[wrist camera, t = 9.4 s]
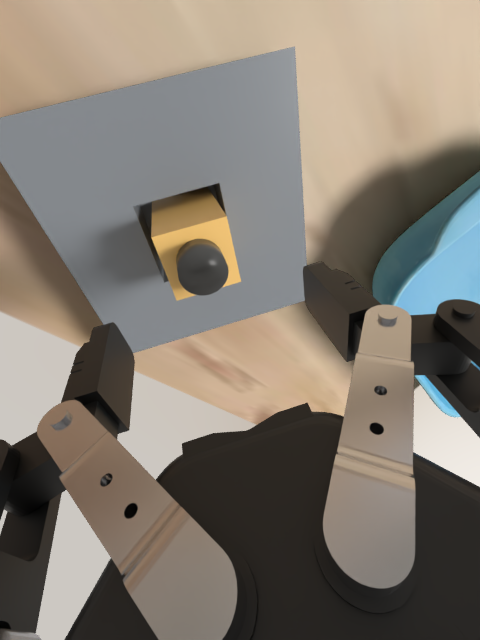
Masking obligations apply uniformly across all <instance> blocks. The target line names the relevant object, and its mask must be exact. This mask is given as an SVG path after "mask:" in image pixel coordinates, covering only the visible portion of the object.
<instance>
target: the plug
mask: <svg viewBox="0 0 480 640" xmlns="http://www.w3.org/2000/svg"><path fill="white" fill-rule="evenodd" d="M151 238H152V240H153V243H154V245H155V248H156V250H157V253H158V255H159V258H160V260H161V263H162V265H163V268H164V270H165V273H166V275H167V278H168V280H169V283H170V285H171V288H172V290H173V293H174V295H175V298H176V300H177V301H178V300H181V299H185V298H188V297H191V296H195V295H200V296H204V295H210V294H213V293H215V292H217V291H218V290H219V289H221V288H222V287H225V286H229V285H232V284H235V283H239V282H241V278H240V274H239V269H238V265H237V260H236V256H235V251H234V247H233V242H232V237H231V233H230V228H229V224H228V219H227V216H226V214H225V213H224V211H223V210H222V208H221V207H220V205H219V204H218V202H217V201H216V199H215V198H214V196H213V195H212V193H211V192H210V190H209V188H208V187H204V188H200V189H197V190H193V191H189V192H186V193H182V194H178V195H174V196H171V197H167V198H163V199H160V200H156V201H152V227H151Z"/></svg>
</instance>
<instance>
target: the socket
mask: <svg viewBox="0 0 480 640" xmlns="http://www.w3.org/2000/svg"><path fill="white" fill-rule="evenodd" d="M0 162H1V163H2V165H3V167H4V168H5V170H6V171H7V173H8V175H9V176H10V178H11V179H12V181H13V182H14V184H15V186H16V187H17V189H18V190H19V192H20V193H21V195H22V197H23V198H24V200H25V201H26V203H27V205H28V206H29V208H30V209H31V211H32V212H33V214H34V216H35V217H36V219H37V220H38V222H39V223H40V225H41V227H42V228H43V230H44V231H45V233H46V234H47V236H48V238H49V239H50V241H51V242H52V244H53V246H54V247H55V249H56V250H57V252H58V253H59V255H60V257H61V258H62V260H63V261H64V263H65V264H66V266H67V268H68V269H69V271H70V272H71V274H72V276H73V277H74V279H75V280H76V282H77V283H78V285H79V287H80V288H81V290H82V291H83V293H84V294H85V296H86V298H87V299H88V301H89V302H90V304H91V306H92V307H93V309H94V310H95V312H96V313H97V315H98V317H99V318H100V320H101V321H102V323H103V324H104V325H105V324H108V323H111V322H114V323H115V324H116V325H117V327H118V328H119V330H120V332H121V333H122V335H123V337H124V338H125V340H126V341H127V343H128V345H129V346H130V348H131V350H132V352H133V353H135V352H139V351H142V350H145V349H148V348H152V347H155V346H158V345H161V344H165V343H168V342H171V341H175V340H178V339H181V338H184V337H188V336H191V335H194V334H197V333H201V332H204V331H207V330H211V329H214V328H217V327H220V326H224V325H227V324H230V323H233V322H237V321H240V320H243V319H247V318H250V317H253V316H256V315H260V314H263V313H266V312H270V311H273V310H276V309H279V308H283V307H286V306H289V305H292V304H296V303H299V302H302V301H305V297H304V283H303V267H304V266H307V260H306V241H305V223H304V205H303V186H302V168H301V150H300V131H299V113H298V94H297V76H296V58H295V47H291V48H287V49H282V50H278V51H274V52H270V53H266V54H262V55H258V56H254V57H249V58H245V59H241V60H237V61H233V62H229V63H225V64H220V65H216V66H212V67H208V68H204V69H200V70H196V71H192V72H187V73H183V74H179V75H175V76H171V77H167V78H163V79H158V80H154V81H150V82H146V83H142V84H138V85H134V86H129V87H125V88H121V89H117V90H113V91H109V92H105V93H101V94H96V95H92V96H88V97H84V98H80V99H76V100H72V101H67V102H63V103H59V104H55V105H51V106H47V107H43V108H39V109H34V110H30V111H26V112H22V113H18V114H14V115H10V116H5V117H1V118H0ZM204 187H208V188H209V190H210V192H211V193H212V195H213V196H214V198H215V199H216V201H217V202H218V204H219V205H220V207H221V208H222V210H223V211H224V213H225V214H226V216H227V219H228V224H229V228H230V233H231V237H232V242H233V247H234V251H235V256H236V260H237V265H238V269H239V274H240V278H241V282H239V283H235V284H232V285H229V286H225V287H222V288H221V289H219V290H218V291H217V292H215V293H213V294H210V295H204V296H200V295H195V296H191V297H188V298H185V299H181V300H178V301H177V300H176V298H175V295H174V293H173V290H172V288H171V285H170V283H169V280H168V278H167V275H166V273H165V270H164V268H163V265H162V263H161V260H160V258H159V255H158V253H157V250H156V248H155V245H154V243H153V240H152V238H151V227H152V201H156V200H160V199H163V198H167V197H171V196H174V195H178V194H182V193H186V192H189V191H193V190H197V189H200V188H204Z"/></svg>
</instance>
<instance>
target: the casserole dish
mask: <svg viewBox="0 0 480 640" xmlns="http://www.w3.org/2000/svg"><path fill="white" fill-rule="evenodd" d="M372 291H373V297H374V298H375V299H376V300H377V301H379V302H380V303H381V304H382V305H393V306H397V307H400V308H402V309H404V310H405V311H407V312H408V313H409V314H410V315H423V314H436V310H437V307H438V305H439V304H440V303H442V302H444V301H447V300H452V299H462V300H468V301H472V302H475V303H478V304H480V171H479V172H477V173H476V174H475V175H474V176H472V177H471V178H470V179H469V180H467V181H466V182H465V183H464V184H462V185H461V186H460V187H458V188H457V189H456V190H455V191H453V192H452V193H451V194H450V195H448V196H447V197H446V198H445V199H443V200H442V201H441V202H440V203H438V204H437V205H436V206H435V207H433V208H432V209H431V210H430V211H428V212H427V213H426V214H425V215H424V216H422V217H421V218H420V219H419V220H418V221H416V222H415V223H414V224H413V225H412V226H410V227H409V228H408V229H407V230H406V231H405V232H404V233H403V234H402V235H401V236H400V237H399V238H398V239H397V240H396V241H395V242H394V243H393V244H392V245H391V246H390V247H389V248H388V249H387V250H386V252H385V253H384V254H383V256H382V257H381V259H380V261H379V263H378V265H377V268H376V270H375V273H374V277H373V283H372ZM471 363H472V364H473V365H474V366H475V367H477V368H478V369H479V370H480V368H479V367H478V366H477V365H476V364H475V363H474V362H473V361H471ZM414 377H415V378H416V379H417V380H418V382H419V383H420V385H421V386H422V387H423V389H424V390H425V391H426V393H427V394H428V395H429V397H430V398H431V399H432V401H433V402H434V403H435V404H436V406H437V407H438V408H439V409H440V410H441V411H442V412H444V413H445V414H447V415H449V416H451V417H461V416H460V415H459V414H458V412H457V411H456V410H455V409H454V408H453V407H452V406H451V405H450V403H449V402H448V401H447V400H446V399H445V398H444V397H443V395H442V394H441V393H440V392H439V391H438V390H437V389H436V387H435V386H434V385H433V384H432V383H431V382H430V381H429V380H428V378H427V377H426V376H425V375H415V376H414Z"/></svg>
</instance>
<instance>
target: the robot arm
mask: <svg viewBox="0 0 480 640" xmlns="http://www.w3.org/2000/svg"><path fill="white" fill-rule="evenodd" d="M303 283H304V297H305V302H306V305H307V308H308V310H309V311H310V313H311V314H312V315H313V317H314V318H315V319H316V321H317V322H318V324H319V325H320V326H321V328H322V329H323V330H324V332H325V333H326V335H327V336H328V337H329V339H330V340H331V341H332V343H333V344H334V345H335V347H336V348H337V350H338V351H339V352H340V354H341V355H342V356H343V358H344V359H345V361H346V362H349V361H352V360H355V362H354V368H353V373H352V378H351V383H350V388H349V393H348V399H347V404H346V409H345V414H344V417H343V416H341V415H337V414H333V413H327V412H312V411H311V409H310V407H309V405H308V403H305V404H302V405H299V406H296V407H293V408H290V409H287V410H284V411H281V412H278V413H276V414H274V415H272V416H271V417H269V418H268V419H266V420H264V421H263V422H261V423H259V424H258V425H256V426H255V427H253V428H251V429H250V430H247V431H238V432H224V433H213V434H210V435H207V436H204V437H200V438H197V439H194V440H191V441H188V442H185V443H183V444H182V450H183V454H182V455H181V456H179V457H178V458H176V459H175V460H174V461H173V462H172V463H171V464H169V465H168V466H167V467H166V468H165V469H164V471H163V472H162V473H161V474H160V475H159V476H158V478H157V479H156V480H155V479H154V478H153V477H152V476H151V475H150V474H149V473H148V472H147V471H146V470H145V469H144V468H143V467H142V465H141V464H140V463H139V462H137V460H136V459H135V458H134V457H133V456H132V455H131V454H130V453H129V452H128V451H127V450H126V449H125V448H124V447H123V446H122V445H121V444H120V443H119V442H118V441H117V435H118V434H119V433H122V432H125V431H128V430H129V426H130V413H131V401H132V388H133V376H134V364H135V361H134V356H133V352H132V350H131V348H130V346H129V345H128V343H127V341H126V340H125V338H124V337H123V335H122V333H121V332H120V330H119V328H118V327H117V325H116V324H115V323H114V322H111V323H108V324H105V325H101V326H98V327H94V328H93V330H92V334H91V337H90V341H89V342H87V343H84V344H83V346H82V347H81V348H80V350H79V351H78V352H77V354H76V357H75V360H74V363H73V365H74V366H72V370H71V374H70V376H69V379H68V382H67V385H66V388H65V392H64V395H63V398H62V401H61V403H60V404H58V405H56V406H55V407H53V408H52V409H51V410H50V411H48V412H47V413H46V414H45V416H44V417H43V418H42V420H41V421H40V423H39V425H38V428H37V432H36V433H33V434H32V435H30V436H28V437H26V438H25V439H23V440H21V441H19V442H18V443H16V444H14V445H12V446H11V445H10V444H8V443H7V442H6V441H4V440H0V519H1V516H2V513H3V510H4V509H5V510H6V511H8V512H7V515H6V519H5V522H4V525H3V528H2V531H1V535H0V640H41V639H40V637H39V636H38V635H36V634H35V633H36V628H37V622H38V617H39V611H40V606H41V601H42V595H43V590H44V585H45V579H46V574H47V568H48V563H49V558H50V552H51V547H52V541H53V536H54V531H55V525H56V520H57V515H58V509H59V504H60V498H61V493H62V492H63V491H65V490H67V491H68V492H69V494H70V495H71V497H72V498H73V500H74V502H75V503H76V505H77V506H78V508H79V509H80V511H81V512H82V514H83V515H84V517H85V518H86V520H87V522H88V523H89V525H90V526H91V528H92V529H93V531H94V532H95V534H96V535H97V537H98V538H99V540H100V541H101V543H102V544H103V546H104V548H105V549H106V550H107V552H108V554H109V555H110V557H111V559H110V561H109V562H108V564H107V566H106V568H105V569H104V571H103V573H102V575H101V576H100V578H99V580H98V582H97V584H96V585H95V587H94V589H93V591H92V592H91V594H90V596H89V598H88V599H87V601H86V603H85V605H84V607H83V608H82V610H81V612H80V614H79V615H78V617H77V619H76V620H75V622H74V624H73V626H72V628H71V630H70V631H69V633H68V635H67V636H66V638H65V640H480V487H479V486H476V485H475V484H473V483H471V482H469V481H467V480H465V479H463V478H461V477H459V476H458V475H456V474H454V473H452V472H450V471H448V470H446V469H444V468H442V467H440V466H438V465H436V464H435V463H433V462H431V461H429V460H427V459H425V458H423V457H421V456H419V455H418V454H416V453H414V452H413V412H414V411H413V410H414V405H413V404H414V376H415V375H425V376H426V377H427V378H428V380H429V381H430V382H431V383H432V384H433V385H434V386H435V387H436V389H437V390H438V391H439V392H440V393H441V394H442V395H443V397H444V398H445V399H446V400H447V401H448V402H449V403H450V405H451V406H452V407H453V408H454V409H455V410H456V411H457V412H458V414H459V415H460V416H461V417H462V418H463V419H464V420H465V422H466V423H467V424H468V425H469V426H470V427H471V428H472V429H473V431H474V432H475V433H476V434H477V435H478V436H479V437H480V370H479V369H478V368H477V367H475V366H474V365H473V364H472V363H471V361H473V362H474V363H475V364H476V365H477V366H478V367H479V368H480V304H478V303H475V302H472V301H468V300H462V299H452V300H447V301H444V302H442V303H440V304H439V305H438V307H437V310H436V314H423V315H410V314H409V313H408V312H407V311H405V310H404V309H402V308H400V307H397V306H393V305H382V304H381V303H380V302H379V301H377V300H376V299H375V298H374V297H373V296H372V295H371V294H370V293H369V292H367V291H366V290H365V289H364V288H363V287H361V285H360V284H359V283H357V282H355V280H354V279H353V278H352V277H351V276H350V275H349V274H348V273H345V272H342V271H340V270H337V269H335V270H331V269H329V268H328V267H327V266H326V265H325V264H324V263H323V262H322V261H320V262H317V263H314V264H310V265H307V266H304V267H303Z"/></svg>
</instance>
